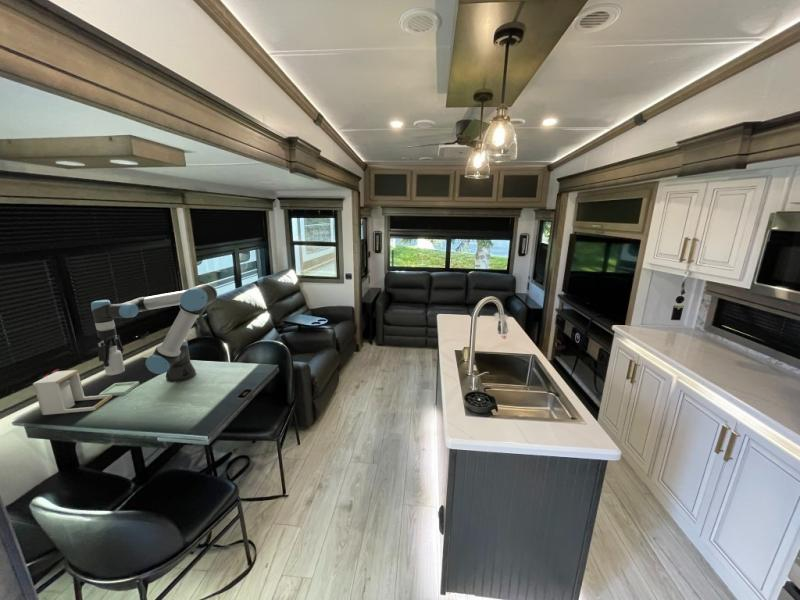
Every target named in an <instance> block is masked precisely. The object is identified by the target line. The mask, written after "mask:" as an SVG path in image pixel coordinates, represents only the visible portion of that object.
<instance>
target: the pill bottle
mask: <svg viewBox="0 0 800 600" xmlns="http://www.w3.org/2000/svg"><path fill="white" fill-rule="evenodd" d="M109 360H110V361H111V366H112V370H113V371H112V372H106V370H105V369H104V371H105V375H106V376H114V375H115V376H116V375H119V374H122V373H124V372H125V371H126V369H125V363H124V358H123V353H121V351H119V350H117V346H111V348H110V350H109ZM102 362H103V361H102ZM103 364H104V362H103ZM103 366H104V365H103ZM104 368H105V366H104Z"/></svg>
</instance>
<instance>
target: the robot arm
mask: <svg viewBox="0 0 800 600" xmlns="http://www.w3.org/2000/svg"><path fill="white" fill-rule="evenodd" d="M217 296H218V291H217V289H216V287H215V286H213V285H211V284H209V283H208V284H207V283H204V284H199V285H196V286H192V287H190V288H188V289H186V290H185V289H184V290H180V291H174V292H173V291H172V292H168V293H167V292H166V293H161V294H156V295H151V296H141V297H137V298H134V299H132V300H129V301H125V302H122V303H111V301H110V300H109V299H100V300H95V301H92V302H91V303H90V307H91V313H92V317H93V320H94V325H95V328H96V334H97V337H98V338H100V342H96V347H97V354H98V361H99V362H104V363H103V366H105V367H104V371H105V370H106V372H112V371H113V370H112V366H111V361H110V360H109V350H110V348H111V346H117V350H119V351H121V353H122V354H124V347H123V343H122V341H121V337H120V334H117V329H116V323H115V321H114V320H115V319H118V318H119V319H122V318H123V319H129V318H134V317H136V316H137V315H138V314H139V313H140V312H141V313H142V312H147V311H152V310H155V309H161V308H168V307H172V306H179V309H180V310H179V312H178V314H177V316H176V318H175V319H174V321H173V323H172V325H171V327H170V329H169V331H168V332H167V334H166V337H164V339H163V342H162V343H160V344H158V345H157V346H156V347H155V349H154V352H153V353H152V354H151V355H149V356H148V357H147V358H146V360H145V367H146V368H147V370H149V372H151V373H154V374H156V375H163V374H165V379H166V382H168V383H179V382H184V381H186V380H189V379H192V378H193V377H195V375H197V371H196V368H195V367H194V366H193V364H192V362H191V357H190V351H189V350H190V349H189V345H188V341H187V340H186V338H187V336H188V334H189V333H190V330H191V329H192V327H193V325H194V323H195V322H196V320H197V318H198V316H202V315H203V314H204V313H205V310H206V308H207V307H208V305H210V304H212V303H214V302H215V301H216V299H217V298H218V297H217ZM106 372H105V373H106Z"/></svg>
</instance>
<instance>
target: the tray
mask: <svg viewBox="0 0 800 600" xmlns="http://www.w3.org/2000/svg"><path fill="white" fill-rule="evenodd" d="M139 385H140V381H139V380H138V381H126V382H116V383H115V382H114V383H113V384H111V385H110V386H109V387H107V388H105V389H104V390H103V391H101V392H100V393H99V394H98V396H100V395H111V394H112V397H116V396H126V395H127V394H129V393H130V392H131V391H132V390H133V389H135V388H136V387H138V386H139Z"/></svg>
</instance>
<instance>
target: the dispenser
mask: <svg viewBox="0 0 800 600" xmlns="http://www.w3.org/2000/svg"><path fill="white" fill-rule="evenodd" d="M79 372H80V371H79V370H78V369H72V370H71V369H70V370H60V371H59V370H58V371H54V372H53V373H51V374H49V375H47V376H45V377H42V378H41V379H39V380H37V381H35V382H33V383H32V385H33V388H34V392H35V396H36V399H37V401H38V405H39V409H40V412H41V415H42V416H47V415H48V416H49V415H57V414H58V415H59V414H69V413H70V414H71V413H80V412H91V411H95V410H97V409H99V408H100V407H101V406H102V405H104V404H105V403H106V402H108V401H109V400H111V399H112V398H113V396H112V394H111V395H100V396H99V395H89V396H85V393H84V390H83V385H82V381H81V377H80V373H79ZM90 400H93V401H94V400H100V401H99V402H98V403H96V404H94V405H93V406H88V407H85V406H84V407H75V408H72V407H74V406H75V405H76V402H79V401H90Z"/></svg>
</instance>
